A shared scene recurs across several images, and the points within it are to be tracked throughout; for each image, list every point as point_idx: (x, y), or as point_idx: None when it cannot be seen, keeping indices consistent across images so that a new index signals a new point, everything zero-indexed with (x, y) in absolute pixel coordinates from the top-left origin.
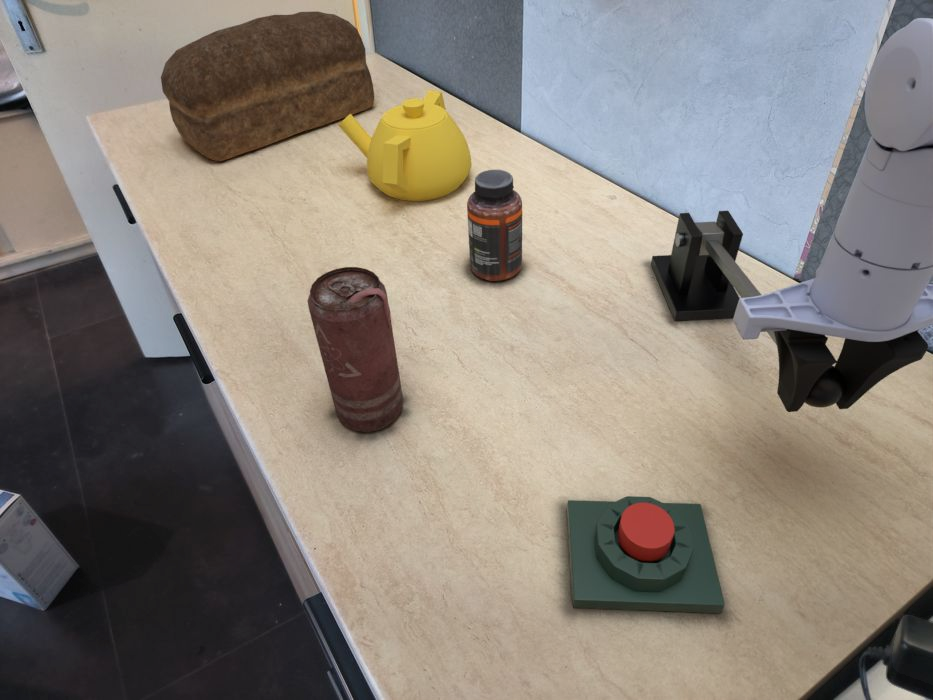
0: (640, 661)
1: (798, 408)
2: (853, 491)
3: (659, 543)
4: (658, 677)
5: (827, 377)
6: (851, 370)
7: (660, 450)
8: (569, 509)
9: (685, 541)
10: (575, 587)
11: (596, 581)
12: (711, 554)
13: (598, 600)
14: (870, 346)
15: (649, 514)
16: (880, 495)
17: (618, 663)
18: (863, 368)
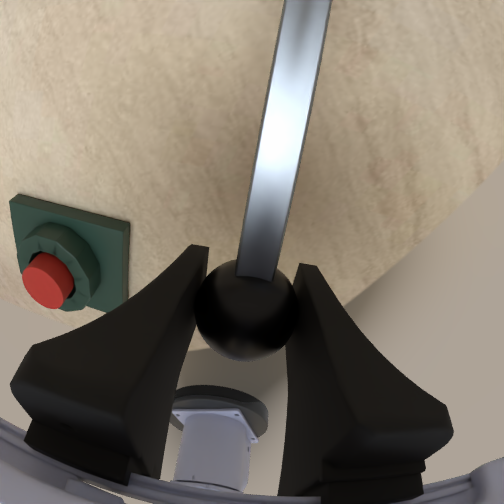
0: (72, 314)
1: None
2: (328, 240)
3: (51, 306)
4: (82, 324)
5: (231, 358)
6: (300, 356)
7: (111, 128)
8: (10, 211)
9: (83, 291)
10: None
11: None
12: (120, 282)
13: None
14: (298, 448)
15: (42, 281)
16: (353, 252)
17: (59, 311)
18: (294, 400)
